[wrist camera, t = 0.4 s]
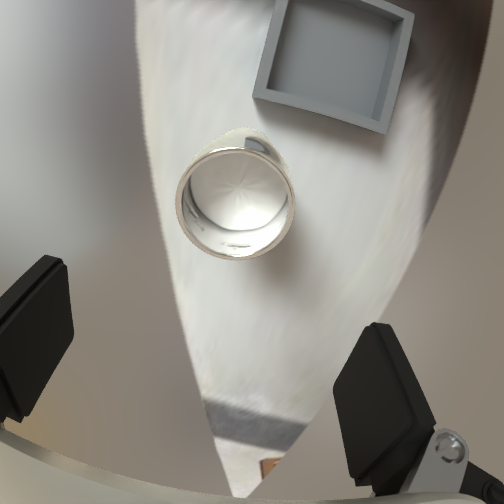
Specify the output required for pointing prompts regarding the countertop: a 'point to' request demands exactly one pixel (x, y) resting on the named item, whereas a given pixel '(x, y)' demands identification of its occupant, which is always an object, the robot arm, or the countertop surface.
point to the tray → (336, 58)
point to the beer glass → (236, 196)
